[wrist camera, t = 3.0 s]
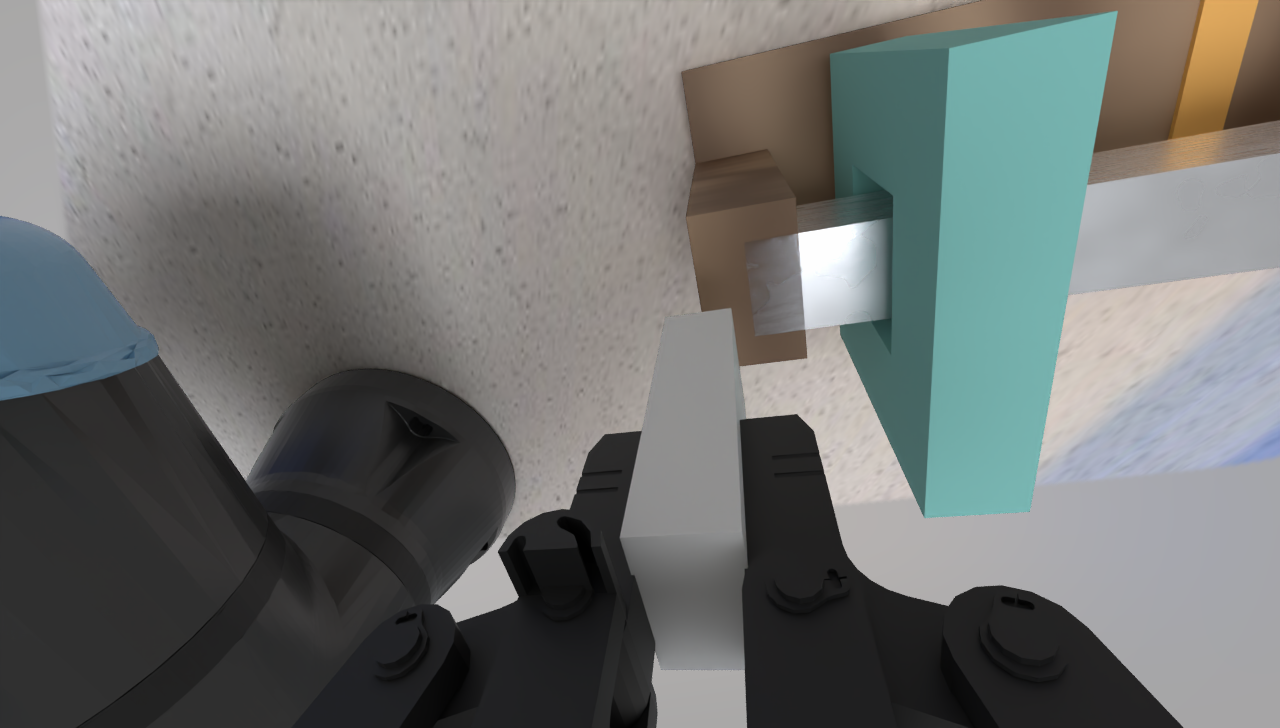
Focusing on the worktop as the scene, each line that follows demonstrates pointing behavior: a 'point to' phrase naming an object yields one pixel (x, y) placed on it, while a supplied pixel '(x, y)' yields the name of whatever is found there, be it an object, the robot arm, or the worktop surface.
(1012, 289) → the teal square ring
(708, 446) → the robot arm
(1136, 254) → the grey square bar
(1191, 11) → the stand
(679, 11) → the worktop surface
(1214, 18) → the pair of orange bands
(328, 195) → the worktop surface
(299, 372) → the worktop surface
